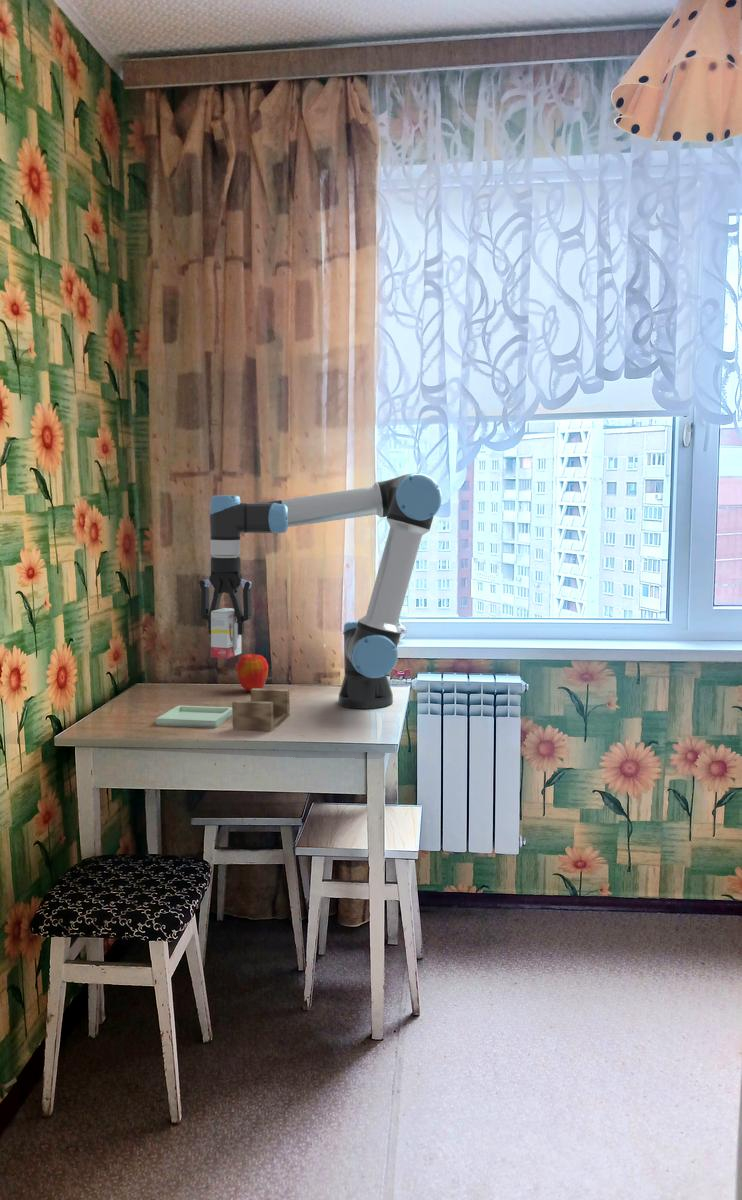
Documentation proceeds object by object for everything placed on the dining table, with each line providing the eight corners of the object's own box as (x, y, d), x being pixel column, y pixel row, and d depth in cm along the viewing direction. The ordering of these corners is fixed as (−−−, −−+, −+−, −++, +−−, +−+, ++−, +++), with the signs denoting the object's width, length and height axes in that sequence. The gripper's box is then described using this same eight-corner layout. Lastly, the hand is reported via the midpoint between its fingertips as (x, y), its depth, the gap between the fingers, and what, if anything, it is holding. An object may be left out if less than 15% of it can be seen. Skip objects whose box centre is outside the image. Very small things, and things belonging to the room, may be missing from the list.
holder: (289, 715, 242) (289, 689, 241) (271, 731, 226) (270, 703, 226) (253, 713, 244) (253, 688, 243) (232, 729, 228) (232, 702, 228)
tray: (234, 714, 244) (234, 707, 244) (215, 727, 230) (215, 720, 230) (178, 711, 247) (178, 705, 247) (156, 725, 234) (156, 718, 233)
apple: (233, 694, 268) (232, 653, 266) (243, 687, 276) (242, 648, 275) (263, 695, 266) (262, 654, 264) (272, 688, 275) (271, 649, 273)
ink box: (227, 659, 230) (227, 612, 228) (210, 657, 231) (209, 611, 230) (242, 653, 238) (242, 608, 236) (225, 652, 239) (224, 607, 238)
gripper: (264, 556, 233) (265, 645, 236) (196, 554, 237) (197, 643, 239) (255, 558, 226) (256, 650, 229) (185, 556, 229) (187, 647, 232)
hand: (226, 646), depth 234 cm, fingers closed on ink box, 5 cm apart
